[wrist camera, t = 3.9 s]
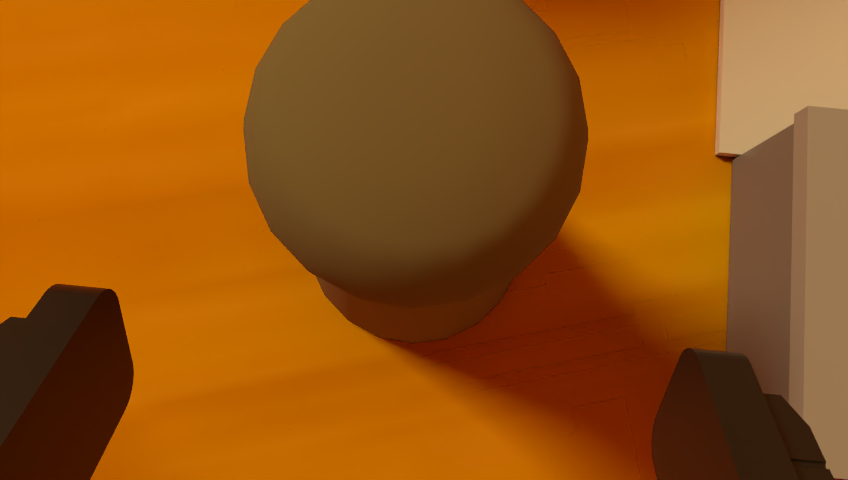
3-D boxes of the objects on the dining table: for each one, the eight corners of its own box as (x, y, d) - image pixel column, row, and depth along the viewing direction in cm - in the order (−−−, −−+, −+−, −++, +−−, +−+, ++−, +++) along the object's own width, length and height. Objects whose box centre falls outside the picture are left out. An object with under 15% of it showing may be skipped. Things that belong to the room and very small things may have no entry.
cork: (523, 133, 21) (642, -104, 10) (522, 345, 20) (651, 339, 9) (312, 127, 21) (201, -117, 10) (301, 340, 20) (167, 327, 9)
